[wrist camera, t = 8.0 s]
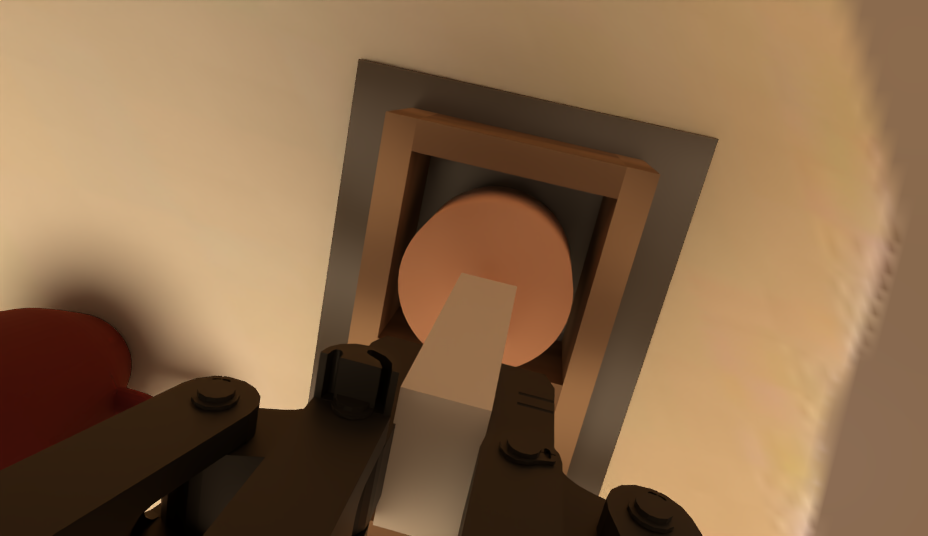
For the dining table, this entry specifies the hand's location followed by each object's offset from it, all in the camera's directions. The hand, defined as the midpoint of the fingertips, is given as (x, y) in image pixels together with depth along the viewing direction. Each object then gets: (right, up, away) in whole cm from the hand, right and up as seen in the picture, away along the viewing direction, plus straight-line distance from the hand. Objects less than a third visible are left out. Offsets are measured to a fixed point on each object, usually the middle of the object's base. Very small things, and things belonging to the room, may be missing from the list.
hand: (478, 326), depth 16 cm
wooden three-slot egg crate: (-1, -4, +10) cm, 11 cm away
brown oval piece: (+1, +2, +5) cm, 5 cm away
